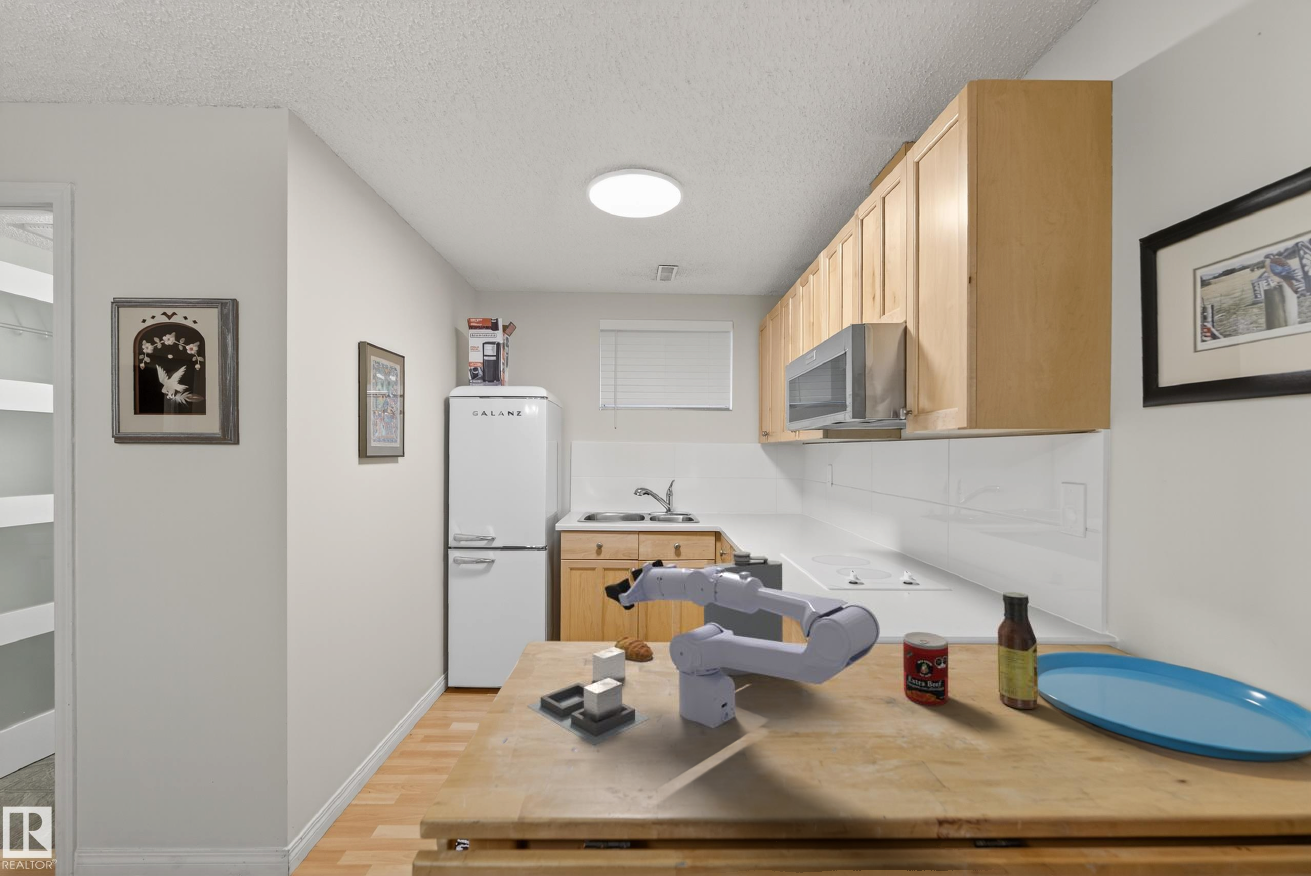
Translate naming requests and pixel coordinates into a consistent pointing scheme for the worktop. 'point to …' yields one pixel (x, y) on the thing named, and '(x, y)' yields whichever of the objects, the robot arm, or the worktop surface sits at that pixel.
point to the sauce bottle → (1017, 654)
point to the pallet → (570, 715)
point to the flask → (741, 622)
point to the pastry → (634, 648)
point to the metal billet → (609, 664)
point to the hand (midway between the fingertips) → (620, 583)
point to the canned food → (925, 668)
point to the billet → (602, 700)
